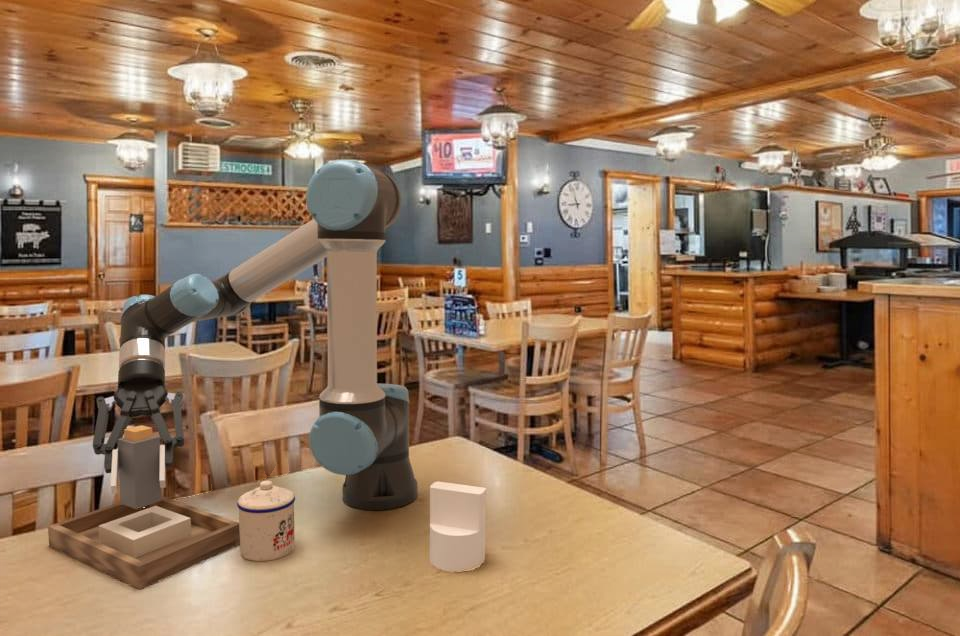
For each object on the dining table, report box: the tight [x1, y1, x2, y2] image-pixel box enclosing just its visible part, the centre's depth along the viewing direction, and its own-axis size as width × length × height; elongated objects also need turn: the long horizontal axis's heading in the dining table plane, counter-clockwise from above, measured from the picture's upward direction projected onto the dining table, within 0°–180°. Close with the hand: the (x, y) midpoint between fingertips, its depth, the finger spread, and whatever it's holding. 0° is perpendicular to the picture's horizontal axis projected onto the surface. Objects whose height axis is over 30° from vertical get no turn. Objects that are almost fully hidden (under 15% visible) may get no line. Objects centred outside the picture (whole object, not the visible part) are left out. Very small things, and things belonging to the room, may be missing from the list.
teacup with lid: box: [236, 480, 296, 562], centre depth 109 cm, size 12×9×12 cm
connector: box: [117, 424, 163, 509], centre depth 108 cm, size 4×4×13 cm
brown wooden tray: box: [47, 495, 240, 591], centre depth 109 cm, size 26×18×4 cm
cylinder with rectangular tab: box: [429, 480, 487, 573], centre depth 105 cm, size 9×9×12 cm
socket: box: [99, 506, 191, 558], centre depth 109 cm, size 10×10×3 cm
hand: (138, 486), depth 105 cm, fingers closed on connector, 6 cm apart
